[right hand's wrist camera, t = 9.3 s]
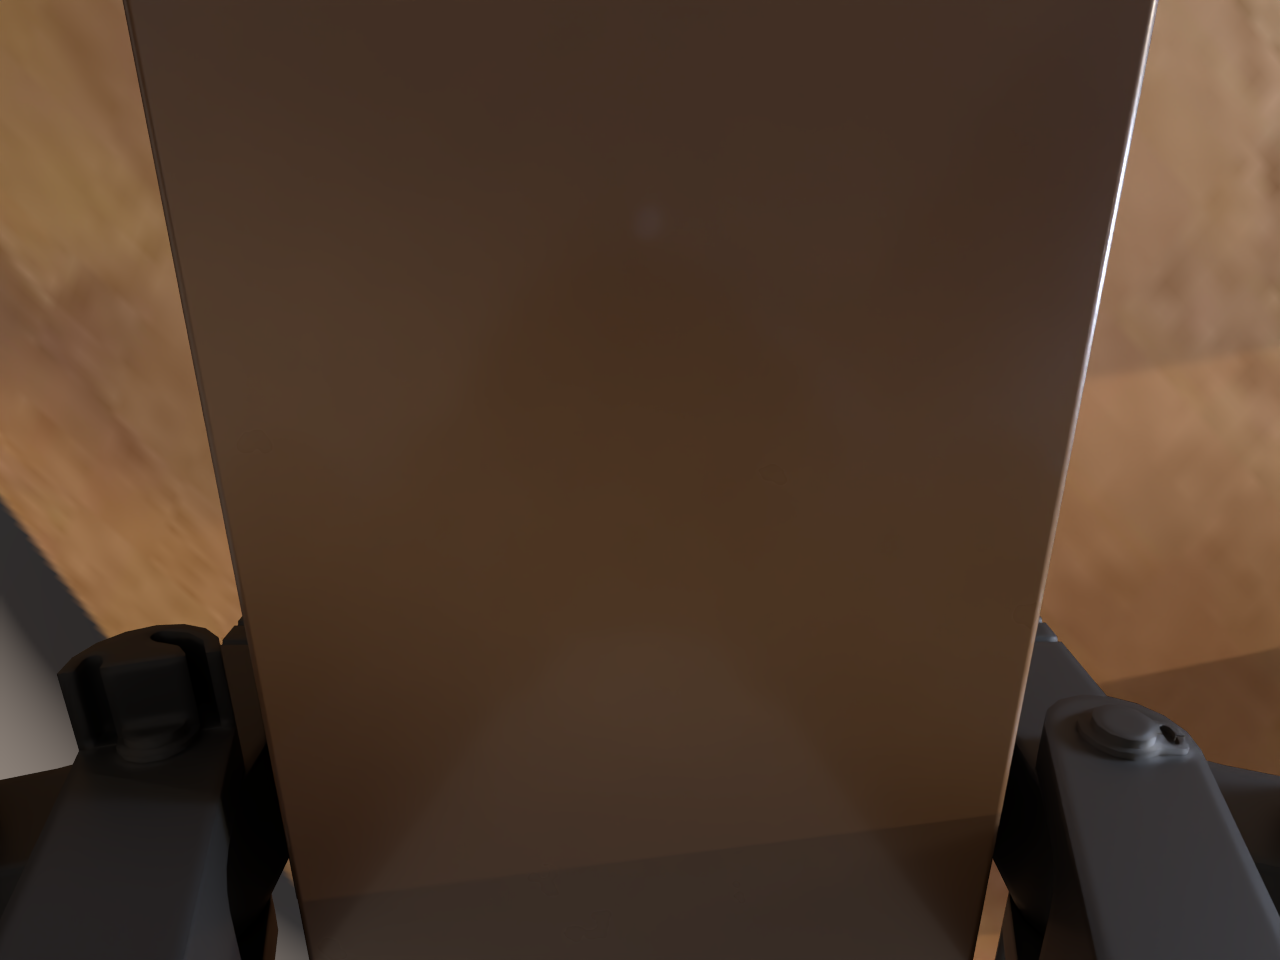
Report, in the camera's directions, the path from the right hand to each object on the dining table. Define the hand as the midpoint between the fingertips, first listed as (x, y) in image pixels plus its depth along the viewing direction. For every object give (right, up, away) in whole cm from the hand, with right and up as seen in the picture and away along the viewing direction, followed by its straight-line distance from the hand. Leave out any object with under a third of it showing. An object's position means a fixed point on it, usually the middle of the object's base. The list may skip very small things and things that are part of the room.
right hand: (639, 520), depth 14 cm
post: (0, +32, -12) cm, 35 cm away
